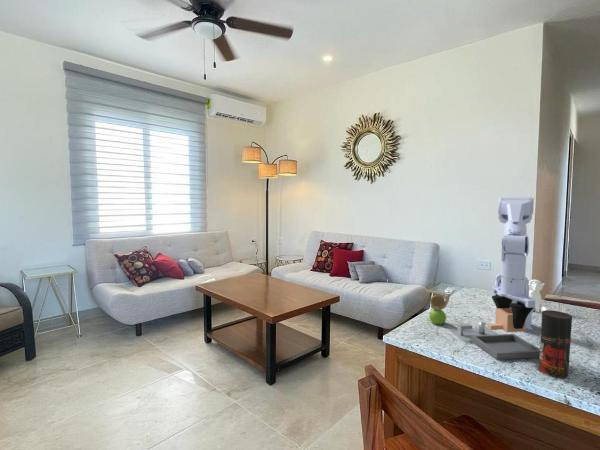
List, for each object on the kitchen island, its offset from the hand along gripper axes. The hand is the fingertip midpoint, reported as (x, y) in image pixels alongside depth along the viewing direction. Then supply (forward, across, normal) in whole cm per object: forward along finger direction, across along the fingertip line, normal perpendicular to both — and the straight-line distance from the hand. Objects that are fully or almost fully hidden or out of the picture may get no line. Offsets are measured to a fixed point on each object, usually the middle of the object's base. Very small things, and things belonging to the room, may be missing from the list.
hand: (510, 324), depth 96 cm
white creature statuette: (+8, -32, +34) cm, 47 cm away
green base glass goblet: (+8, -21, -10) cm, 25 cm away
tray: (+8, 0, -1) cm, 8 cm away
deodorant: (+8, +12, +3) cm, 15 cm away
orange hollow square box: (+1, 0, -2) cm, 2 cm away
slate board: (+8, -11, -3) cm, 14 cm away
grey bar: (+7, -11, -5) cm, 14 cm away
